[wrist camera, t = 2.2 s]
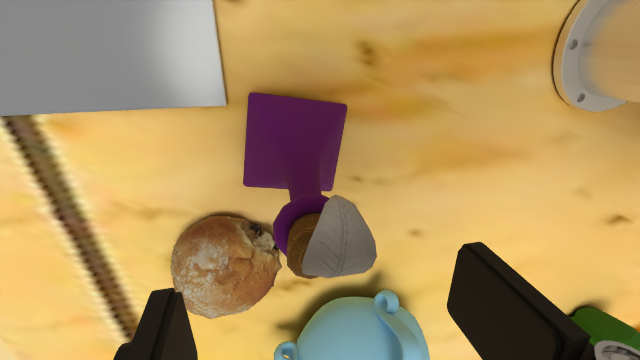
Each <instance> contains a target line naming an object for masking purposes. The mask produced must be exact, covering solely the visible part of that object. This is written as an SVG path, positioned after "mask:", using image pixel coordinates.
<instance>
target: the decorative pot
mask: <svg viewBox="0 0 640 360" xmlns="http://www.w3.org/2000/svg"><path fill="white" fill-rule="evenodd" d="M283 355H287V356H289V358H285V357H284V356H283ZM274 360H430V356H429V351H428V347H427V344H426V341H425V338H424V335H423V332H422V330H421V328H420V326H419V324H418V322H417V320H416V318H415V317H414V316H413V315H412V314H411V313H410V312H409V311H407V310H406V309H404V308H402V307H401V306H399V300H398V297H397V295H396V294H395V293H394V292H392V291H390V290H383V291H381V292H379V293H378V294H377V295H376V296H375V298H369V297H342V298H337V299H334V300H332V301H330V302H328V303H326V304H325V305H324V306H322V307H321V308H320V309H319V310H318V311H317V312H316V313H315V314H314V315H313V316H312V318H311V319H310V320H309V322H308V323H307V324H306V326H305V327H304V329H303V331H302V332H301V334H300V336H299V338H298V340H297V342H296V344H295V343H294V342H291V341H286V342H283V343H281V344H279V345H278V346H277V348H276V349H275V352H274Z"/></svg>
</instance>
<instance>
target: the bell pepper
mask: <svg viewBox="0 0 640 360" xmlns="http://www.w3.org/2000/svg"><path fill="white" fill-rule="evenodd" d="M570 319H571V320H573V321H574V322H575V323H576V324H577V325H578V326H580V327H581V328H582V329H583V330H584V331H585V332H587V333H588V334H589V335H590V336H591V338H590V340H589V342H590V343H591V344H592V345H593V346H595V345H596V344H597V343H598V342H601V341H615V342H619V343H623V344H625V345H628V346H630V347H632V348H634V349H636V350H638V351H640V332H638V331H637V330H636V329H634V328H633V327H631V326H629V325H627V324H626V323H624V322H622V321H620V320H618V319H616V318H615V317H613V316H611V315H609V314H607V313H605V312H603V311H601V310H599V309H596V308H593V307H584V308H580V309H579V310H578V311H576V312H575V315H574V316H572V317H570Z"/></svg>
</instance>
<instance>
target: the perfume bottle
mask: <svg viewBox="0 0 640 360" xmlns="http://www.w3.org/2000/svg"><path fill="white" fill-rule="evenodd" d="M346 112H347V105H345V104H341V103H333V102H325V101H317V100H309V99H301V98H293V97H285V96H278V95H270V94H262V93H254V92H252V93H250V94H249V96H248V112H247V128H246V145H245V161H244V177H243V184H244V186H247V187H261V188H279V189H289V194H290V200H291V202H290V203H288V204H286V205H285V206H283V208H282V209H281V211H280V213H279V214H278V216H277V217H276V219H275V221H274V223H273V232H274V242H275V244H276V245H277V247H278V248H279V249H280V250H281V251H282V252H283V253H284V254H285V256H286V257H287V266H288V267H289V268H290V269H291V270H292V272H293V273H294V274H295V275H296V276H300V277H303V278H307V279H313V278H317V277H325V278H332V277H339V276H345V275H352V274H359V273H364V272H366V271H367V270H368V269H370V268H371V267H372V266H373V264H374V262H375V259H376V257H377V254H376V246H375V240H374V238H373V236H372V234H371V232H370V229H369V227H368V226H367V224H366V222H365V221H364V219H363V217H362V216H361V214H360V212H359V211H358V209H357V207H356V206H355V204H353V203H351V202H350V201H348V200H347V199H345V198H343V197H341V196H338V195H334V196H332V197H331V198H328V197H326V196H324V195H322V194H321V191H331V190H332V188H333V183H334V177H335V172H336V166H337V161H338V156H339V150H340V145H341V139H342V134H343V128H344V123H345V118H346Z"/></svg>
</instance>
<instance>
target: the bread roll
mask: <svg viewBox="0 0 640 360" xmlns="http://www.w3.org/2000/svg"><path fill="white" fill-rule="evenodd" d="M278 249H279V248H278V247H277V245H276V244H275V242H274V236H272V235H271V234H269V233H268V232H267V231H265V230H264V229H262V228H261V226H260V225H257V224H252V223H250V222H249V221H247V220H245V219H243V218H234V217H230V216H227V217H226V216H210V217H208V218H206V219H204V220H202V221H199V222H198V223H197V224H195V225H194V226H192V227H190V228H189V229H187V230H186V231H185V232H184V233H183V234H182V235H181V236H180V238H179V240H178V241H177V243H176V245H175V246H174V249H173V252H172V263H171V266H170V268H171V272H172V273H171V275H172V276H173V284H174V288H175V291H176V292H181V293H182V295H183V299H184V303H185V307H186V309H187V310H188V311H189V312H191V313H193V314H196V315H200V316H204V317H206V318H209V319H213V318H217V317H220V316H226V315H231V314H237V313H241V312H244V311H246V310H248V309H250V308H251V307H252V306H254V305H255V304H256V303H257V302H258V301H260V300H261V299H262V298H263V297H264V296H265V295H266V294H267V293H268V292H269V290H270V289H271V287H273V285H274V280H275V277H276V275H277V272H278V271H279V270H280V269H281V267H282V266H281V263H280V262H279V251H278Z"/></svg>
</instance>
